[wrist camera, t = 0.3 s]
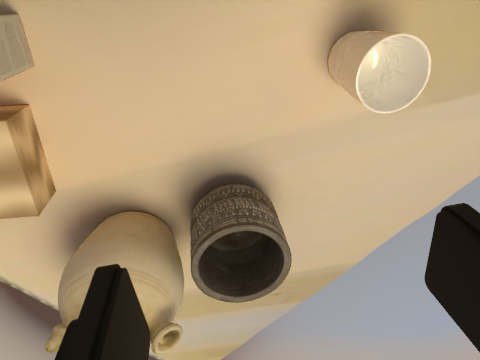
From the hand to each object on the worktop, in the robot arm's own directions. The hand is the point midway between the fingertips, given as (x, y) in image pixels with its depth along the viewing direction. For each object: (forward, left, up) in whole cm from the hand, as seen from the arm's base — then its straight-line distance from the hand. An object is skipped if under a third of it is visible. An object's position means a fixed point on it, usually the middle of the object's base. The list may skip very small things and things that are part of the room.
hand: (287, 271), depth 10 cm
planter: (+21, +2, -36) cm, 42 cm away
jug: (+26, -13, -36) cm, 46 cm away
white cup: (0, +18, -36) cm, 40 cm away
